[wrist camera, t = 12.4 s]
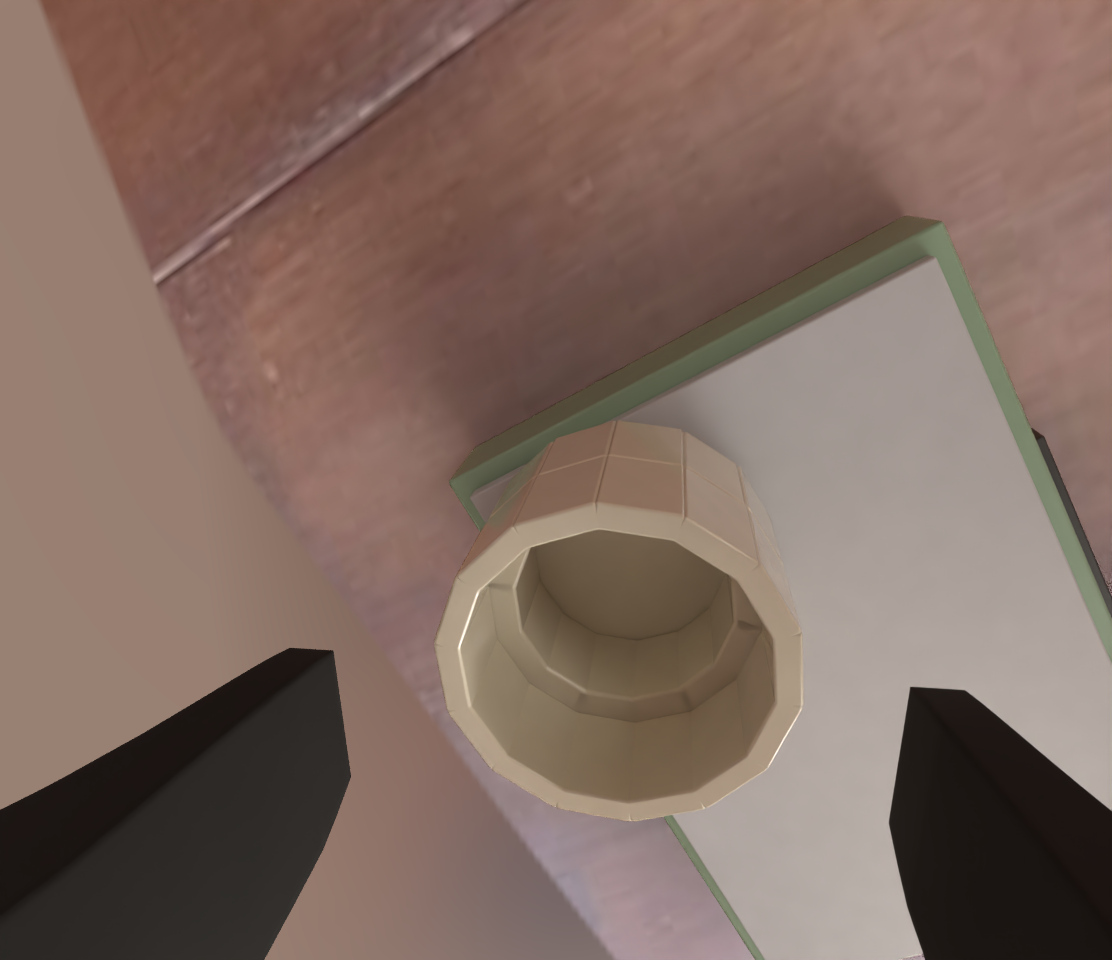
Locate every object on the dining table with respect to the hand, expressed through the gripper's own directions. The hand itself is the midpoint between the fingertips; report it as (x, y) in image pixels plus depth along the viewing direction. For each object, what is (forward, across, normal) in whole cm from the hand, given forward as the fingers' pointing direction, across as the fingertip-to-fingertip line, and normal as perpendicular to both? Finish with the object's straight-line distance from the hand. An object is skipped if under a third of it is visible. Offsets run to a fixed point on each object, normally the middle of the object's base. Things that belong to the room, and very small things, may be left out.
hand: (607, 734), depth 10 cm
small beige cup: (+6, 0, 0) cm, 6 cm away
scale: (+8, -4, +3) cm, 10 cm away
